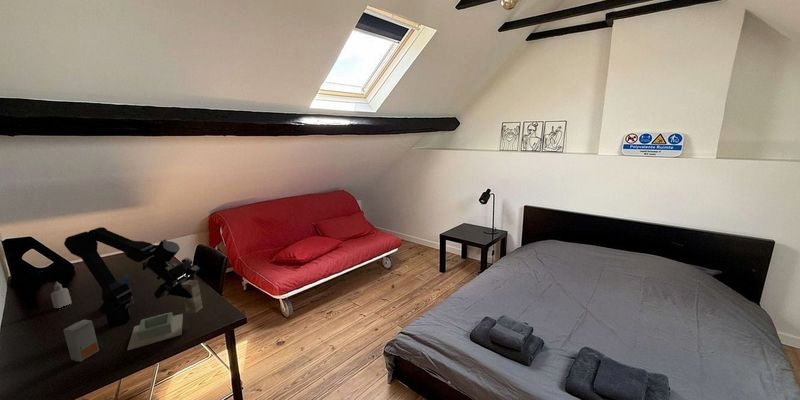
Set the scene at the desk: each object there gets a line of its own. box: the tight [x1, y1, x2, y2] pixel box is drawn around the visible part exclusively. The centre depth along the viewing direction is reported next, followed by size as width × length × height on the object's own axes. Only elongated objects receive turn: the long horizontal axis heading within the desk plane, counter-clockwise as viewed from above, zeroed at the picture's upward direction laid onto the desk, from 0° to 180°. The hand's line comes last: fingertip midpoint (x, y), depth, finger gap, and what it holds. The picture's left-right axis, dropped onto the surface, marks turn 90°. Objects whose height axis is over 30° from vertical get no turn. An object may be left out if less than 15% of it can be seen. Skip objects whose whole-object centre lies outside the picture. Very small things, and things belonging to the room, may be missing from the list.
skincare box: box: [63, 319, 100, 362], centre depth 111 cm, size 6×4×12 cm
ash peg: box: [181, 279, 203, 314], centre depth 128 cm, size 4×4×12 cm
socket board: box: [127, 311, 184, 351], centre depth 125 cm, size 16×16×4 cm
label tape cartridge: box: [119, 273, 135, 307], centre depth 146 cm, size 9×4×12 cm, turn 50°
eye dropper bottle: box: [50, 281, 73, 309], centre depth 144 cm, size 4×6×12 cm
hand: (195, 294), depth 128 cm, fingers closed on ash peg, 4 cm apart
